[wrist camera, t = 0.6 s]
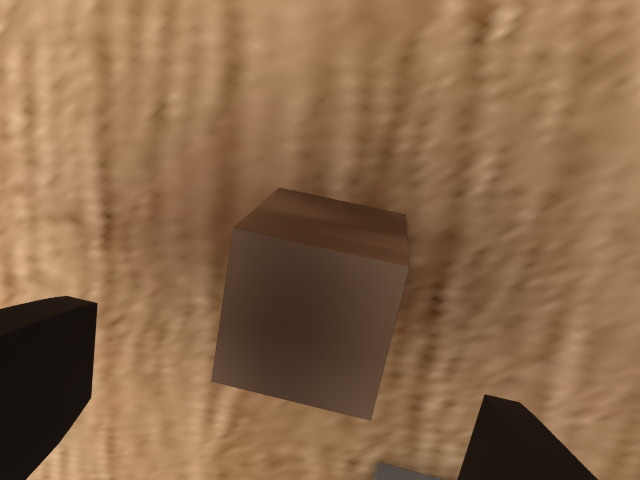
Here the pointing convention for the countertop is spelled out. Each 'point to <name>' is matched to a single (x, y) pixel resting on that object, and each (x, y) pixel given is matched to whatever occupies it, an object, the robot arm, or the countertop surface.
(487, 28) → the countertop surface
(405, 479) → the base block
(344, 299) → the walnut block
